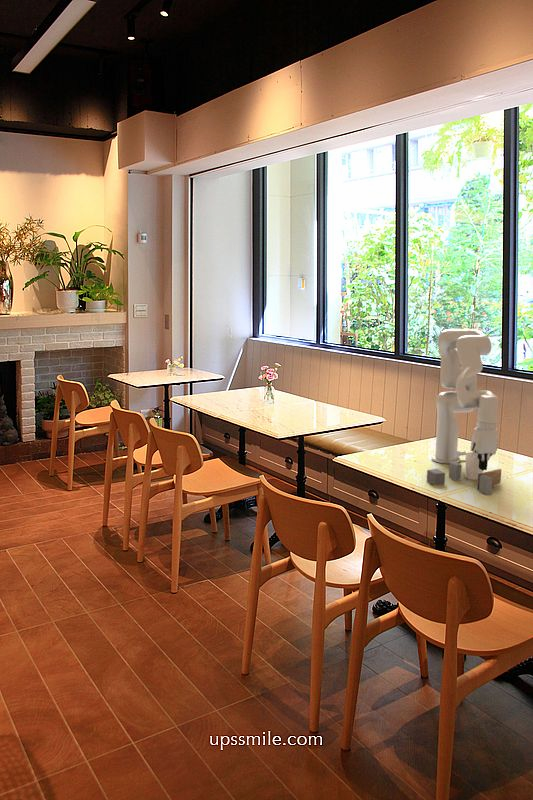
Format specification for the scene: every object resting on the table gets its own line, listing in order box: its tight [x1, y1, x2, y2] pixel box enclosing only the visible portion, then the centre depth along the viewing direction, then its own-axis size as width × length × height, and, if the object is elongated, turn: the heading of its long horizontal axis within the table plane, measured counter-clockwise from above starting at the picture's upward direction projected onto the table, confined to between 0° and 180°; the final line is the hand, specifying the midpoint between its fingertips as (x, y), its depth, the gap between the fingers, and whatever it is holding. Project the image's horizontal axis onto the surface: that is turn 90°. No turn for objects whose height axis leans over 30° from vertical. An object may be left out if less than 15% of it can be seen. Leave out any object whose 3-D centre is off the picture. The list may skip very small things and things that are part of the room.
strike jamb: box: [448, 462, 462, 481], centre depth 311 cm, size 2×5×6 cm, turn 21°
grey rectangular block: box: [426, 468, 446, 486], centre depth 305 cm, size 4×6×5 cm
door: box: [476, 468, 502, 491], centre depth 300 cm, size 2×14×6 cm, turn 127°
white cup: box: [465, 451, 484, 481], centre depth 312 cm, size 8×8×10 cm
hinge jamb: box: [478, 475, 493, 496], centre depth 293 cm, size 2×5×6 cm, turn 21°
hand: (482, 469), depth 302 cm, fingers closed
